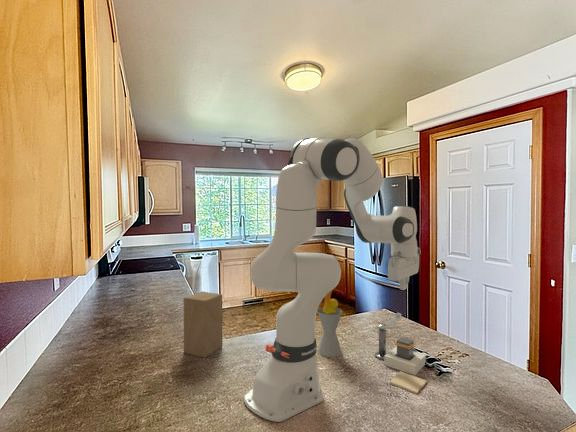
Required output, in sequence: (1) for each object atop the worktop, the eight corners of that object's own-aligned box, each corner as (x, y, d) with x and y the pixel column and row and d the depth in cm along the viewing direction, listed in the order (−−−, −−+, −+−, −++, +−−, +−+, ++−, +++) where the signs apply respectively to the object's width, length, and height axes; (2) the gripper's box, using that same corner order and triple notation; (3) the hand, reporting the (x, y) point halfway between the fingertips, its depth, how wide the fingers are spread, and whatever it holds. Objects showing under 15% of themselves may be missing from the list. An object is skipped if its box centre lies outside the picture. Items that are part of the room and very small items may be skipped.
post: (386, 361, 105) (386, 333, 104) (372, 356, 108) (372, 329, 108) (392, 356, 108) (392, 328, 108) (378, 352, 112) (378, 325, 111)
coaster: (417, 394, 86) (417, 392, 86) (389, 383, 91) (389, 381, 91) (426, 382, 92) (426, 380, 92) (400, 372, 97) (400, 371, 97)
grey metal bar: (384, 330, 106) (384, 324, 106) (376, 328, 108) (376, 321, 108) (403, 319, 116) (403, 314, 116) (395, 317, 118) (395, 312, 118)
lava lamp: (325, 359, 106) (325, 257, 106) (312, 348, 114) (312, 254, 114) (347, 354, 110) (347, 256, 109) (333, 344, 118) (333, 253, 118)
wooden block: (223, 347, 116) (222, 293, 115) (205, 358, 107) (205, 301, 106) (201, 342, 120) (201, 291, 120) (183, 353, 111) (182, 297, 111)
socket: (414, 375, 96) (415, 365, 96) (384, 364, 102) (384, 355, 102) (425, 363, 103) (425, 354, 103) (396, 354, 110) (396, 346, 110)
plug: (409, 369, 99) (409, 344, 99) (395, 364, 103) (395, 340, 102) (415, 364, 103) (415, 340, 103) (400, 359, 106) (400, 336, 106)
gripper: (401, 254, 102) (401, 296, 102) (422, 249, 117) (422, 285, 117) (382, 252, 106) (382, 293, 106) (405, 248, 121) (405, 283, 121)
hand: (403, 289), depth 112 cm, fingers closed
